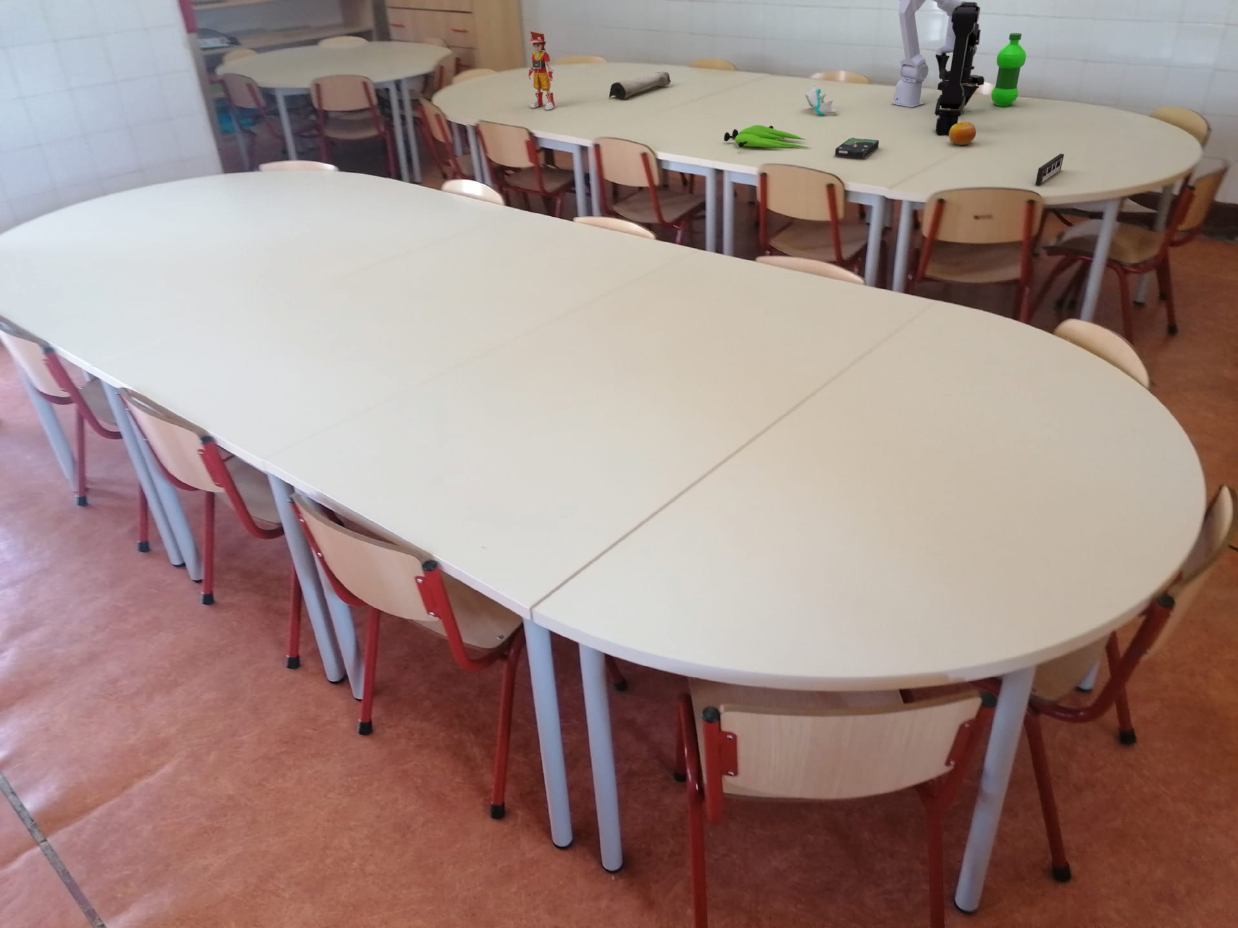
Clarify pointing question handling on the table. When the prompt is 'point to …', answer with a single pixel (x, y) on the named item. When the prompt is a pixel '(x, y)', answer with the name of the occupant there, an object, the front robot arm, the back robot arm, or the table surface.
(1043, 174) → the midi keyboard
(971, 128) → the fruit
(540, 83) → the toy
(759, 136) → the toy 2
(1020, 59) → the plastic bottle
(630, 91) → the rolled mat
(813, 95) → the anatomical model
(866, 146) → the disk drive
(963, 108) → the block
